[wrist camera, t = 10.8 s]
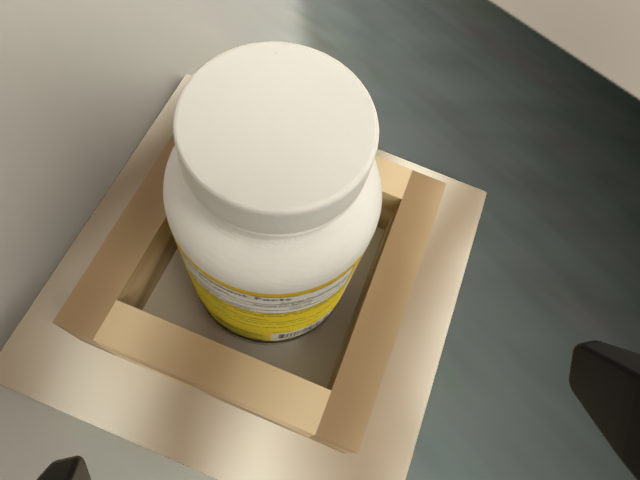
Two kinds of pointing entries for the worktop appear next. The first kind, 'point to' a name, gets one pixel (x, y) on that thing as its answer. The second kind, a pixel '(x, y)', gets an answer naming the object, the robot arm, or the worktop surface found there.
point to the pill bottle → (272, 187)
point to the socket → (241, 356)
